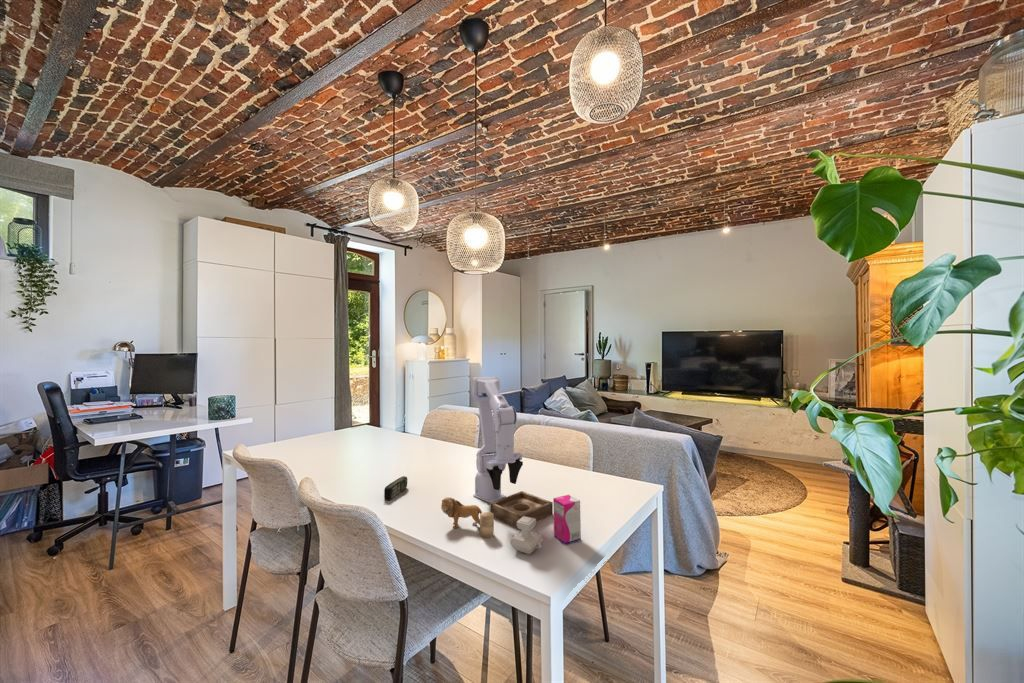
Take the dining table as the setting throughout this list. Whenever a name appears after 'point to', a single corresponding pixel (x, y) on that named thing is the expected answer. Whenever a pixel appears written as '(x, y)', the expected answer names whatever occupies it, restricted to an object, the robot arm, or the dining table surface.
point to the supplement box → (567, 519)
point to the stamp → (526, 536)
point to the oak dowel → (486, 525)
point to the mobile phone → (395, 488)
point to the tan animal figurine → (460, 511)
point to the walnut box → (521, 508)
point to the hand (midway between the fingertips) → (504, 486)
